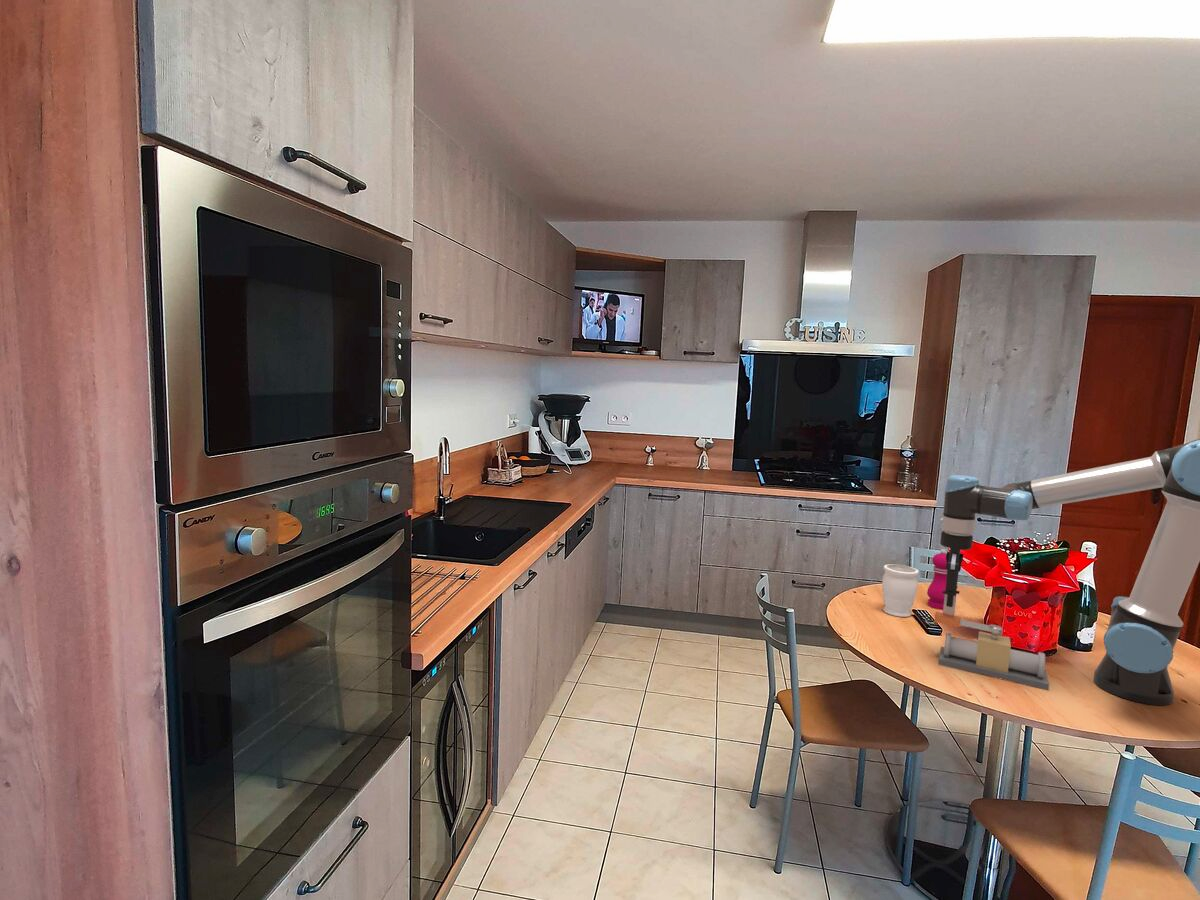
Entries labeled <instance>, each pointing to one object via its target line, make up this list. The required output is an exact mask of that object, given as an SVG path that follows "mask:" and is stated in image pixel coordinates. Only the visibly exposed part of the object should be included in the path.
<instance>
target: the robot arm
mask: <svg viewBox="0 0 1200 900" xmlns="http://www.w3.org/2000/svg"><path fill="white" fill-rule="evenodd" d="M1159 488H1162V489H1161V493H1162V494H1163V496H1164V497H1165V499H1166V504H1165V506H1164V509H1163V511H1162V514H1161V517H1160V518H1159V521H1158V524H1157V527H1156V529H1155V532H1154V534H1153V537H1152V539H1151V542H1150V544H1149V547H1148V548H1147V551H1146V555H1145V557H1144V560H1143V561H1142V564H1141V567H1140V568H1139V569H1140V570H1139V572H1138V574H1137V576H1136V579H1135V582H1134V585H1133V588H1132V590H1131V593H1130V594H1129V597H1128V596H1115V597H1114V598H1113V600H1112V604H1111V605H1110V606H1111V612H1110V619H1109V623H1108V626H1107V629H1106V631H1105V633H1104V635H1103V645H1104V648H1105V654H1104V656H1103V657H1102V659H1101V660H1100V662H1099V664H1098V665H1097V667H1096V668H1095V670H1094V675H1093V682H1094V684H1095V685H1096V686H1097V687H1099V688H1100V689H1102V690H1104V691H1106V692H1107V693H1110V694H1112V695H1114V696H1117V697H1120V698H1123V699H1126V700H1129V701H1133V702H1137V703H1141V704H1146V705H1153V706H1168V705H1171V704H1172V703H1173V702H1174V695H1175V691H1174V689H1173V688H1174V687H1173V684H1172V682H1171V681H1172V680H1171V677H1170V674H1169V670H1168V666H1169V665H1170V664H1171V662H1172V661H1173V659H1174V648H1175V646H1176V643H1177V641H1178V638H1179V636H1180V633H1181V632H1182V628H1183V626H1184V622H1183V621H1182V619H1181V617H1180V616H1179V611H1180V609H1181V607H1182V604H1183V602H1184V600H1185V597H1186V594H1187V593H1188V590H1189V587H1190V586H1191V583H1192V580H1193V578H1194V576H1195V573H1196V572H1197V569H1198V567H1199V564H1200V438H1197V439H1194V440H1191V441H1189V442H1186V443H1183V444H1180V445H1176V446H1174V447H1169V448H1166V449H1162V450H1156V451H1154V453H1153V454H1152V455H1151V456H1148V457H1143V458H1138V459H1133V460H1128V461H1123V462H1122V461H1121V462H1118V463H1112V464H1107V465H1103V466H1102V465H1101V466H1097V467H1093V468H1086V469H1083V470H1077V471H1073V472H1067V473H1063V474H1058V475H1052V476H1047V477H1041V478H1038V479H1037V478H1036V479H1032V480H1027V481H1022V482H1013V483H1008V484H1006V485H1004V486H1002V487H993V486H986V485H981V484H980V479H979V478H978V477H976V476H971V475H963V474H961V475H959V474H953V475H950V476H948V477H947V480H946V487H945V490H944V501H943V502H944V503H943V513H942V517H941V518H940V519H939V521H940V523H942V525H941V529H942V532H940V539H939V540H940V542H939V543H940V545H941V546H942V547H944V548H949V551H947V550H946V560H947V563H946V569H947V579H946V590H945V591H943V592H942V593H943V594H945V598H944V608H943V610H942V613H944V614H949V615H954V616H955V612H956V604H957V595H959V594H960V590H957V589H958V587H959V586H958V582H959V572H960V571H961V569H962V563H963V560H964V553H961V551H962V550H963V551H969V550H971V549H972V548H973V539H974V536H973V534H974V533H975V527H976V526H975V524H976V515H984V516H990V517H994V518H995V517H997V518H1001V519H1002V518H1003V519H1007V520H1012V521H1015V520H1016V521H1028V520H1029V519H1030V517H1031V514H1032V511H1033V510H1035V509H1040V508H1046V507H1047V508H1048V507H1051V506H1058V505H1065V504H1070V503H1076V502H1077V503H1078V502H1082V501H1089V500H1094V499H1095V500H1096V499H1100V498H1105V497H1110V496H1111V497H1113V496H1118V495H1124V494H1130V493H1136V492H1141V491H1147V490H1148V491H1149V490H1153V489H1159Z"/></svg>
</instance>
